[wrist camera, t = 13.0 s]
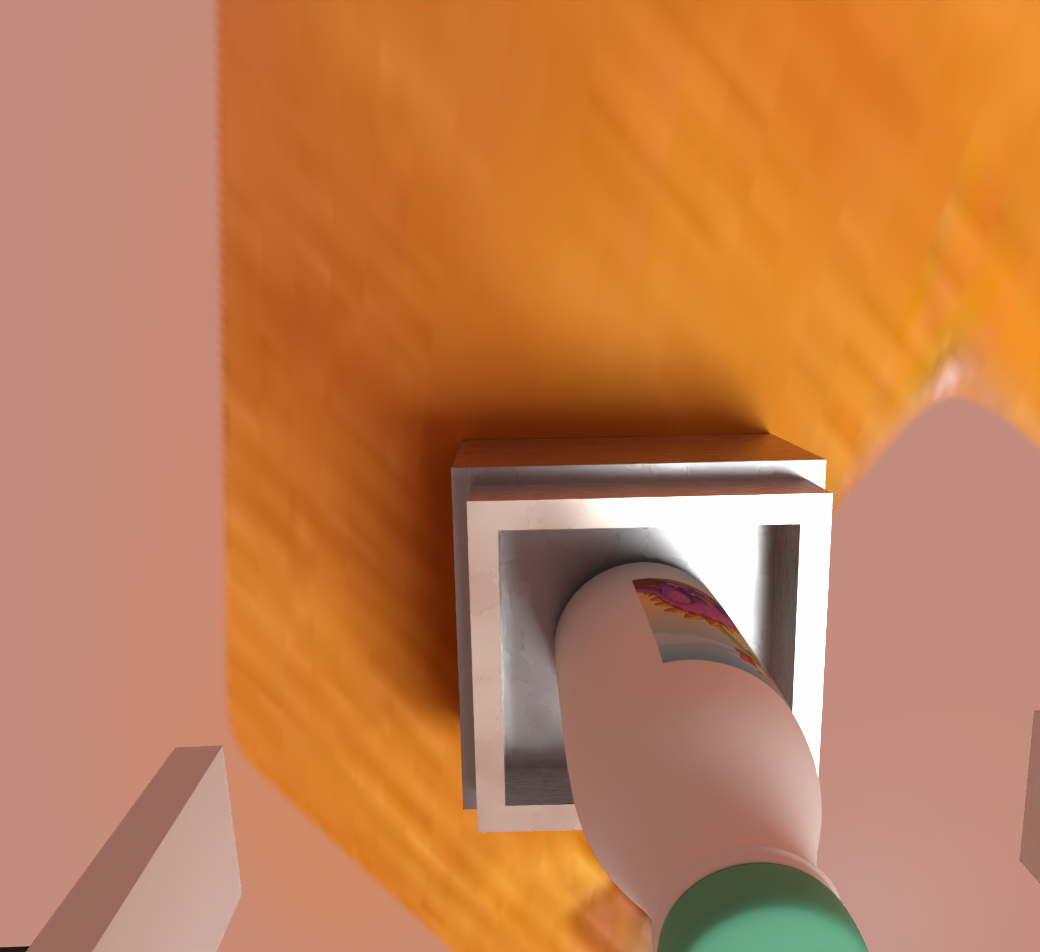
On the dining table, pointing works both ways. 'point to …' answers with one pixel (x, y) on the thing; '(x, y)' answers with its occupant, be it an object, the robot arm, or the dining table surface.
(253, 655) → the dining table surface
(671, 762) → the milk bottle
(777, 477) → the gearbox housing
